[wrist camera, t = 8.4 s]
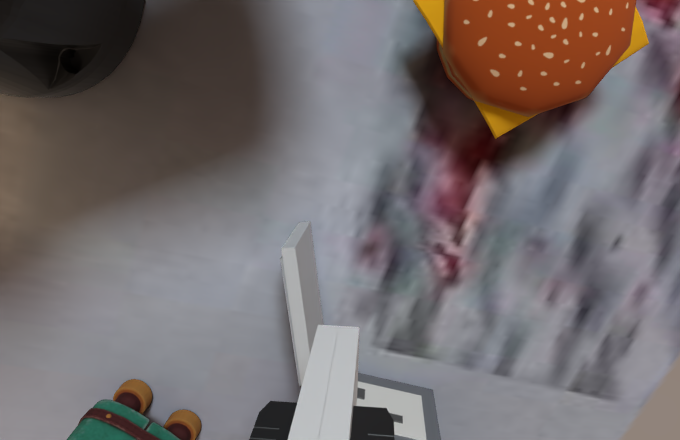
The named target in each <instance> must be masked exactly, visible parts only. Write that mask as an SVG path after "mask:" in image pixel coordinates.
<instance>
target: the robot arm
mask: <svg viewBox="0 0 680 440" xmlns="http://www.w3.org/2000/svg"><path fill="white" fill-rule="evenodd" d="M143 4H144V0H0V93H1V94H6V95H11V96H18V97H60V96H66V95H71V94H75V93H78V92H81V91H83V90H85V89H88V88H90V87H92V86H93V85H95V84H97V83H98V82H100V81H101V80H103V79H104V78H105V77H106V76H108V75H109V74H110V73H111V72H112V71H113V70H114V69H115V68H116V67H117V65H118V64H119V63H120V62H121V61H122V59H123V58H124V56H125V55H126V53H127V52H128V50H129V48H130V46H131V44H132V42H133V40H134V38H135V35H136V33H137V30H138V27H139V24H140V20H141V16H142V10H143ZM358 354H359V327H347V326H329V325H318V327H317V330H316V334H315V338H314V342H313V346H312V349H311V353H310V357H309V361H308V364H307V368H306V372H305V376H304V380H303V383H302V387H301V391H300V395H299V399H298V402H297V403H291V402H277V401H270V402H269V403H268V404H267V405H266V406H265V407H264V408H263V409H262V410H261V411H260V412H259V415H258V417H257V420H256V423H255V425H254V428H253V431H252V434H251V436H250V439H249V440H395V438H394V420H393V418H392V417H391V415H390V413H389V412H388V410H387V408H379V407H364V406H356V404H357V390H358Z"/></svg>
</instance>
